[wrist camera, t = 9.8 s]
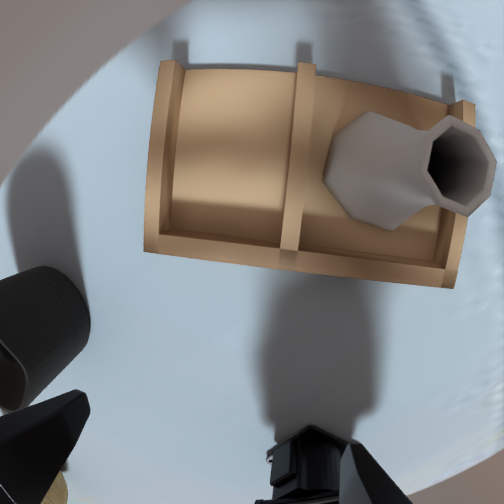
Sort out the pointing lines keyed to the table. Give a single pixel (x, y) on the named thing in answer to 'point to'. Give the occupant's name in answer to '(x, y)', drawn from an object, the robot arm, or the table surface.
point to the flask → (407, 169)
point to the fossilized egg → (57, 491)
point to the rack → (282, 176)
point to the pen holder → (37, 333)
